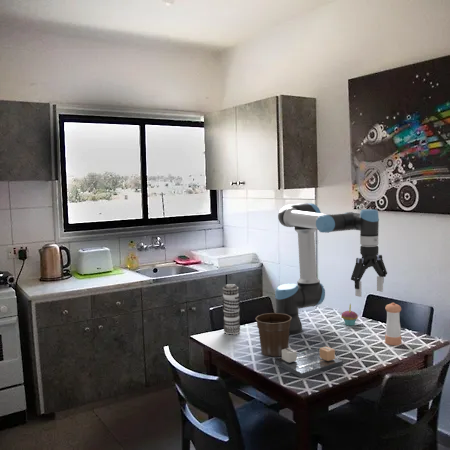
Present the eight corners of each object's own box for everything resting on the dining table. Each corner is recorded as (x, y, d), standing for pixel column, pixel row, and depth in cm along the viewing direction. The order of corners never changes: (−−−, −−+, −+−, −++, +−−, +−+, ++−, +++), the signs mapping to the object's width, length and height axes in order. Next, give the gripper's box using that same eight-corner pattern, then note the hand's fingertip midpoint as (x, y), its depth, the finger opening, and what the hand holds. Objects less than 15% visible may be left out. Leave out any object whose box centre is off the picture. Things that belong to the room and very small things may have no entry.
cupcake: (359, 326, 252) (359, 304, 251) (343, 327, 252) (343, 304, 251) (355, 321, 261) (355, 299, 259) (339, 322, 261) (339, 300, 260)
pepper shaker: (382, 343, 227) (382, 303, 225) (389, 339, 232) (389, 299, 230) (397, 346, 222) (397, 305, 220) (404, 342, 227) (404, 302, 225)
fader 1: (281, 358, 206) (281, 349, 205) (289, 356, 208) (289, 347, 207) (289, 362, 201) (288, 352, 201) (296, 360, 203) (296, 350, 203)
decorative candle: (237, 328, 256) (235, 282, 253) (243, 333, 247) (242, 285, 245) (220, 331, 253) (219, 284, 250) (227, 336, 244) (225, 287, 241)
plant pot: (249, 350, 224) (248, 316, 222) (278, 343, 231) (277, 310, 230) (269, 361, 210) (268, 325, 208) (299, 353, 217) (298, 318, 216)
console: (274, 363, 207) (274, 358, 207) (314, 352, 218) (313, 347, 218) (301, 378, 192) (301, 372, 191) (342, 365, 203) (342, 360, 203)
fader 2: (319, 357, 206) (319, 347, 205) (326, 355, 208) (326, 345, 207) (327, 361, 202) (327, 351, 201) (335, 358, 204) (334, 349, 203)
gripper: (355, 249, 199) (355, 300, 201) (395, 243, 212) (395, 290, 214) (342, 247, 205) (342, 296, 208) (381, 241, 218) (381, 287, 221)
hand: (369, 293), depth 211 cm, fingers open, 13 cm apart
